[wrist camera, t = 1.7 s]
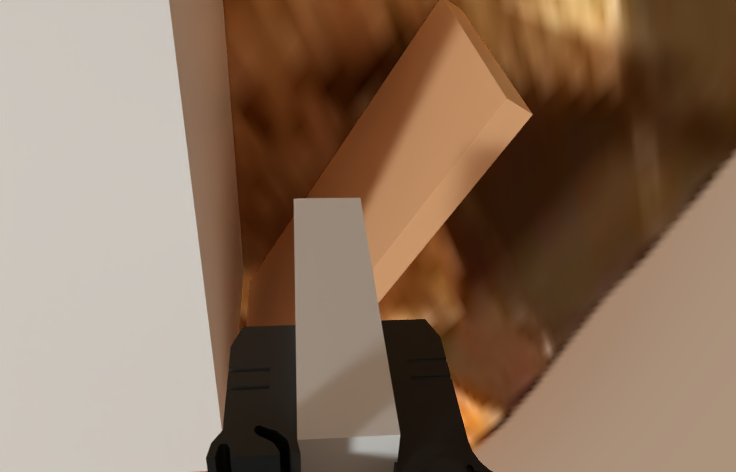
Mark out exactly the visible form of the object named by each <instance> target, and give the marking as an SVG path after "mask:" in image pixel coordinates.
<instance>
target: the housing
mask: <svg viewBox="0 0 736 472" xmlns="http://www.w3.org/2000/svg"><path fill="white" fill-rule="evenodd" d="M243 274H244V268H243V255H242V242H241V229H240V216H239V203H238V190H237V177H236V164H235V151H234V138H233V125H232V112H231V99H230V86H229V73H228V60H227V47H226V34H225V21H224V8H223V0H0V472H194V471H208V470H207V463H206V456H207V453H208V450H209V448H210V445H211V443H212V441H213V440H214V439H215V438H216V437H217V436H218V435H219V434H220V433H221V431H222V430H223V420H224V410H225V400H226V391H227V379H228V372H229V359H230V348H231V345H232V343H233V342H234V340H235V339H236V337H237V336H238V332H239V320H240V309H241V297H242V285H243Z"/></svg>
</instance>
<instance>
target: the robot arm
mask: <svg viewBox="0 0 736 472" xmlns="http://www.w3.org/2000/svg"><path fill="white" fill-rule="evenodd" d="M294 254H295V320H296V325H279V326H249V327H243V328H242V330H241V331H240V333H239V334H238V336H237V337H236V339H235V340H234V342H233V343H232V345H231V348H230V359H229V372H228V379H227V391H226V400H225V410H224V420H223V430H222V431H221V433H220V434H219V435H218V436H217V437H216V438H215V439H214V440H213V441H212V443H211V445H210V448H209V450H208V453H207V456H206V463H207V470H208V472H492V471H490V470H489V469H488V468H487V467H486V466H484V465H483V464H482V463H481V462H480V461H479V460H478V458H477V457H476V456H475V454H474V453H473V452H472V449H471V447H470V445H469V442H468V439H467V435H466V431H465V428H464V424H463V420H462V416H461V413H460V409H459V405H458V402H457V398H456V394H455V390H454V387H453V383H452V380H451V378H450V372H449V368H448V364H447V362H446V357H445V353H444V349H443V345H442V342H441V338H440V336H439V335H438V334H437V333H436V332H435V330H434V329H433V328H432V327H431V326H430V324H429V323H428V322H427V321H426V320H425V319H416V320H385V321H381V317H380V311H379V305H378V299H377V294H376V288H375V282H374V276H373V270H372V264H371V258H370V252H369V246H368V240H367V234H366V228H365V223H364V217H363V211H362V205H361V199H360V198H296V199H294Z"/></svg>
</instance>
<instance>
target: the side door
mask: <svg viewBox="0 0 736 472" xmlns="http://www.w3.org/2000/svg"><path fill="white" fill-rule="evenodd" d="M532 115H533V114H532V113H531V111H530V110H529V108H528V107H527V105H526V104H525V102H524V101H523V99H522V98H521V96H520V95H519V93H518V92H517V91H516V89H515V88H514V86H513V85H512V83H511V82H510V80H509V79H508V77H507V76H506V74H505V73H504V71H503V70H502V68H501V67H500V65H499V64H498V62H497V61H496V60H495V58H494V57H493V55H492V54H491V52H490V51H489V49H488V48H487V46H486V45H485V43H484V42H483V40H482V39H481V37H480V36H479V34H478V33H477V32H476V30H475V29H474V27H473V26H472V24H471V23H470V21H469V20H468V18H467V17H466V15H465V14H464V12H463V11H462V9H461V8H459V7H458V6H456V5H455V4H453V3H452V2H450V1H449V0H439V1H438V2H437V4H436V5H435V7H434V8H433V10H432V11H431V13H430V14H429V15H428V17H427V18H426V20H425V21H424V23H423V24H422V26H421V27H420V29H419V30H418V32H417V33H416V35H415V36H414V38H413V39H412V41H411V42H410V44H409V45H408V47H407V48H406V50H405V51H404V53H403V54H402V56H401V57H400V59H399V60H398V62H397V63H396V65H395V66H394V67H393V69H392V70H391V72H390V73H389V75H388V76H387V78H386V79H385V81H384V82H383V84H382V85H381V87H380V88H379V90H378V91H377V93H376V94H375V96H374V97H373V99H372V100H371V102H370V103H369V105H368V106H367V108H366V109H365V111H364V112H363V114H362V115H361V117H360V118H359V119H358V121H357V122H356V124H355V125H354V127H353V128H352V130H351V131H350V133H349V134H348V136H347V137H346V139H345V140H344V142H343V143H342V145H341V146H340V148H339V149H338V151H337V152H336V154H335V155H334V157H333V158H332V160H331V161H330V163H329V164H328V166H327V167H326V169H325V170H324V171H323V173H322V174H321V176H320V177H319V179H318V180H317V182H316V183H315V185H314V186H313V188H312V189H311V191H310V192H309V194H308V195H307V197H306V198H360V199H361V205H362V211H363V217H364V223H365V228H366V234H367V240H368V246H369V252H370V258H371V264H372V270H373V276H374V282H375V288H376V294H377V299H378V303H379V302H380V301H381V299H382V298H383V297H384V296H385V294H386V293H387V292H388V291H389V290H390V288H391V287H392V286H393V285H394V283H395V282H396V281H397V280H398V279H399V277H400V276H401V275H402V274H403V272H404V271H405V270H406V269H407V268H408V266H409V265H410V264H411V263H412V261H413V260H414V259H415V258H416V257H417V255H418V254H419V253H420V252H421V250H422V249H423V248H424V247H425V246H426V244H427V243H428V242H429V241H430V239H431V238H432V237H433V236H434V235H435V233H436V232H437V231H438V230H439V228H440V227H441V226H442V225H443V224H444V222H445V221H446V220H447V219H448V217H449V216H450V215H451V214H452V213H453V211H454V210H455V209H456V208H457V206H458V205H459V204H460V203H461V202H462V200H463V199H464V198H465V197H466V195H467V194H468V193H469V192H470V191H471V189H472V188H473V187H474V186H475V184H476V183H477V182H478V181H479V180H480V178H481V177H482V176H483V175H484V173H485V172H486V171H487V170H488V169H489V167H490V166H491V165H492V164H493V162H494V161H495V160H496V159H497V157H498V156H499V155H500V154H501V153H502V151H503V150H504V149H505V148H506V146H507V145H508V144H509V143H510V142H511V140H512V139H513V138H514V137H515V135H516V134H517V133H518V132H519V131H520V129H521V128H522V127H523V126H524V124H525V123H526V122H527V121H528V120H529V118H530V117H531V116H532ZM279 325H296V320H295V254H294V216H293V218H292V219H291V221H290V222H289V223H288V225H287V226H286V228H285V229H284V231H283V232H282V234H281V235H280V237H279V238H278V240H277V241H276V243H275V244H274V246H273V247H272V249H271V250H270V252H269V253H268V255H267V256H266V258H265V259H264V261H263V262H262V264H261V265H260V267H259V268H258V270H257V271H256V273H255V274H254V275H253V277H252V278H251V280H250V285H249V299H248V312H247V326H246V327H249V326H279Z"/></svg>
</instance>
